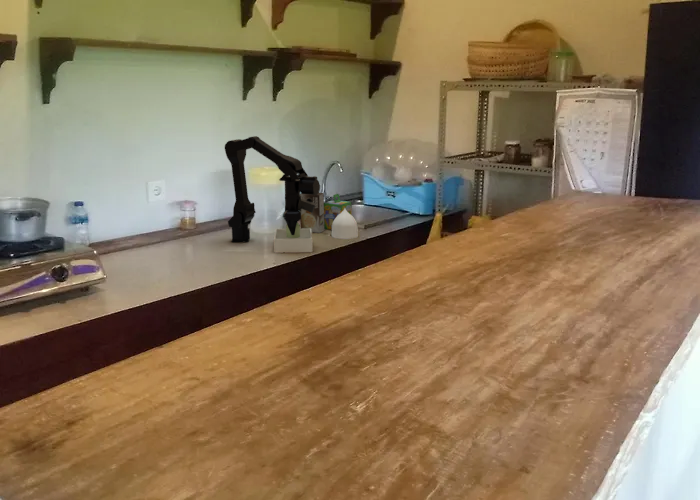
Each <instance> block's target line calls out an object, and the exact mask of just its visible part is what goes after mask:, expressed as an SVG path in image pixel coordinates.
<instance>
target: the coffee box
mask: <svg viewBox="0 0 700 500" xmlns="http://www.w3.org/2000/svg"><path fill="white" fill-rule="evenodd" d="M300 195H301V199H305V200H306V199H307V198H311V199H312V202H314V203H315V207H314V210H313V213H311V212H309V211H306V210H303V209H301V211H300V212H301V219H300V220H299V222H300V224H299V225H300V229H311V231H312V233H317V234H319V233H320V234H321V233H322V232H323V231H325V230H326V229H324V203H325V193H324V192H319V193H318V194H317V195H310V194H302V193H301V192H300Z"/></svg>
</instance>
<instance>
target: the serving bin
mask: <svg viewBox="0 0 700 500" xmlns="http://www.w3.org/2000/svg"><path fill="white" fill-rule="evenodd" d="M273 235H274V237H273V253H276V254H277V253H283V252H285V253H313V232H312V231H311V229H301V228H300V237H298V238H288V237H286V228H275V229H274V234H273Z"/></svg>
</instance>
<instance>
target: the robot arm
mask: <svg viewBox="0 0 700 500" xmlns="http://www.w3.org/2000/svg"><path fill="white" fill-rule="evenodd" d="M249 149H253V150H255V151H256V152H257V153H259V154H260V155H262V156H264V157H265V158H266V159H268V160H270V161H271V162H272V163H273V164H275V165H276V166H277V168H278V170H279V171H280V172H281V173H282V176H281V177H280V178H279V179H278V180H279V181H280V182H284V212H283V217H284V218H283V219H284V221H285V224H286V225H288V228H289V230H290V232H291V235H295V229H296V224H297V222H298V223H299V222H300V219H301V212H300V211H301V209H303V210H306V211H309V212H311V213H313V210H314V207H315V203H314V202H312V199H311V198H307V199H306V200H305V199H301V195H300V194H301V193H302V194H310V195H317V194H318V193H320V189H321V184H320V181H319V180H318V177H317V176H316V175H314V176H309V175H308V174H307V172H306V171H305V169H304V168H303V165H302V164H303V163H302V161H301V160H299V159H298V158H295V157H292V156H291V155H286V154H284V153H282V152H281V151H279V150H278V149H277V148H274V147H273V146H271V145H270V144H269V143H267V142H265V141H264V140H263V139H261V138H260V137H259V136H254V135H253V136H249V137H248V138H245V139H232V140H228V141H226V143H225V144H224V151H225V156H226V158H227V159H228V161H229V163H230V166H231V173H232V179H233V180H232V181H233V189H234V190H233V191H234V195H235V196H234V197H235V202H234V205H233V210H232V211H233V212H232V214H233V215H232V216H231V217H230V218H229V220H227V224H228V226H229V227H230V228H231V243H249V241H250V239H251V229H250V227H249V225H250V224H251V223H252V220H253V219H254V218H255V214H256V213H257V212H256V209H255V203H254V202H252V203H251V201H250V200H249V199H250V198H249V195H248V194H249V193H248V187H247V178H246V169H245V160H246V156H247V150H249Z"/></svg>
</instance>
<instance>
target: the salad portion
mask: <svg viewBox="0 0 700 500" xmlns="http://www.w3.org/2000/svg"><path fill="white" fill-rule="evenodd" d="M285 227H286V228H285V229H286V237H288V238H298V237H300V229H301V227H300V224H299V221H298V222H297V224H296V229H295V235H291V232H290V230H289V228H288V225H287V224H286V226H285Z"/></svg>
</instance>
